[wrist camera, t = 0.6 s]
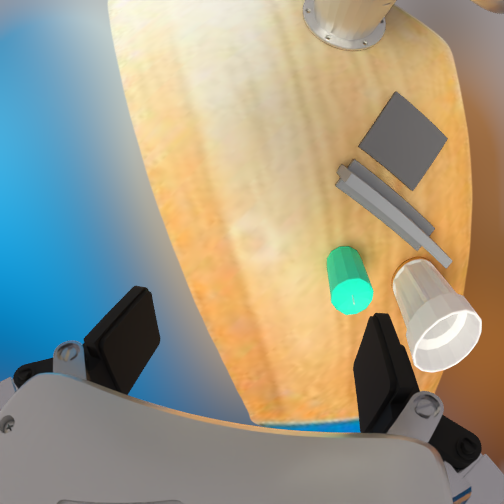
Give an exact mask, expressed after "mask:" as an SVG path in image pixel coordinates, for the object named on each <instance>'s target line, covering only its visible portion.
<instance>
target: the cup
mask: <svg viewBox="0 0 504 504" xmlns="http://www.w3.org/2000/svg"><path fill="white" fill-rule="evenodd" d="M392 289H393V292H394V295H395V297H396V300H397V303H398V305H399V308H400V311H401V313H402V316H403V319H404V322H405V325H406V328H407V333H406V337H407V341H408V345H409V348H410V352H411V355H412V359H413V362H414V365H415V366H416V367H417V368H419V369H420V370H421V371H426V372H437V371H441V370H445V369H447V368H449V367H451V366H453V365H455V364H457V363H458V362H460V361H461V360H462V359H463V358H464V357H466V356H467V355H468V354H469V353H470V351H471V350H472V349H473V348H474V346H475V345H476V343H477V341H478V339H479V336H480V334H481V327H482V326H481V325H482V321H481V319H480V317H479V316H478V314H477V313H476V312H475V310H474V309H473V308H472V306H471V305H470V304H469V303H468V302H467V300H466V299H465V297H464V296H462V295H459V294H457V293H456V292H455V291H454V290H453V288H452V287H451V286H450V285H449V283H448V282H447V281H446V280H445V278H444V277H443V276H442V275H441V274H440V273H439V271H438V270H437V269H436V268H435V267H434V265H433V264H432V263H431V262H430V261H429V260H427V259H425V258H422V257H416V258H411V259H409V260H407V261H405V262H403V263H402V264H401V265H400V266H399V267H398V269H397V270H396V272H395V273H394V276H393V278H392Z"/></svg>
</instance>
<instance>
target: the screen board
mask: <svg viewBox="0 0 504 504" xmlns="http://www.w3.org/2000/svg"><path fill="white" fill-rule="evenodd" d="M337 174H338V175H339V176H340V179H339V180H338V182H337V183H336V184H335V186H336V187H337V188H339V189H340V190H342V191H343V192H344V193H346V194H347V195H348V196H350V197H351V198H352V199H354V200H355V201H356V202H358V203H359V204H360V205H362V206H363V207H364V208H366V209H367V210H368V211H370V212H371V213H372V214H373V215H375V216H376V217H377V218H378V219H380V220H381V221H382V222H383V223H385V224H386V225H387V226H388V227H390V228H391V229H392V230H393V231H394V232H396V233H397V234H398V235H399V236H400V237H402V238H403V239H404V240H405V241H406V242H407V243H409V244H410V245H411V246H412V247H413V248H414V249H415V250H417V251H418V250H419V248H420V247H421V246H423V247H424V248H425V249H426V250H427V251H428V252H429V253H430V254H431V255H432V256H433V257H435V258H436V259H437V260H438V261H439V262H440V263H441V264H442V265H443V266H444V267H445V268H446V269H447V267H448V266H449V265H450V264H451V263H452V260H451V259H450V258H449V257H448V256H447V255H446V253H445V252H444V251H443V250H442V249H441V248H440V247H439V246H438V245H437V244H436V243H435V242H434V241H433V240H432V239H431V238H430V237H429V236H430V235H431V233H432V232H433V231H434V229H435V228H434V227H433V226H432V225H431V224H430V223H429V222H428V221H427V220H426V219H425V218H424V217H423V216H422V215H421V214H419V213H418V212H417V211H416V210H415V209H414V208H413V207H412V206H411V205H410V204H408V203H407V202H406V201H405V200H404V199H403V198H402V197H401V196H399V195H398V194H397V193H396V192H395V191H394V190H392V189H391V188H390V187H389V186H388V185H386V184H385V183H384V182H383V181H382V180H380V179H379V178H378V177H377V176H375V175H374V174H373V173H372V172H370V171H369V170H368V169H366V168H365V167H364V166H363V165H361V164H360V163H359V162H357V161H356V160H355V159H353V160H352V162H351V163H350V165H349V166H348V167H347V168H346V167H345V166H344V165H341V166H340V167H339V169H338V170H337Z"/></svg>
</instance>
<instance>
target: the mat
mask: <svg viewBox="0 0 504 504" xmlns="http://www.w3.org/2000/svg"><path fill="white" fill-rule="evenodd" d="M447 139H448V138H447V137H446V136H445V135H444V134H443V133H442V132H441V131H440V130H439V129H438V128H437V127H436V126H435V125H434V124H433V123H432V122H431V121H430V120H428V119H427V118H426V117H425V116H424V115H423V114H422V113H421V112H420V111H419V110H418V109H416V108H415V107H414V106H413V105H412V104H411V103H410V102H408V101H407V100H406V99H405V98H404V97H402V96H401V95H400V94H399V93H398V92H395V93H394V94H393V96H392V97H391V99H390V100H389V102H388V103H387V105H386V106H385V108H384V109H383V111H382V112H381V114H380V115H379V117H378V118H377V119H376V121H375V122H374V124H373V125H372V127H371V128H370V130H369V131H368V133H367V134H366V136H365V137H364V139H363V140H362V141H361V143H360V144H359V146H358V147H359V148H361V149H362V150H363V151H365V152H366V153H367V154H369V155H370V156H371V157H372V158H374V159H375V160H376V161H378V162H379V163H380V164H381V165H382V166H384V167H385V168H386V169H387V170H389V171H390V172H391V173H392V174H393V175H394V176H396V177H397V178H398V179H399V180H400V181H401V182H403V183H404V184H405V185H406V186H407V187H408V188H409V189H410V190H412V191H413V190H414V189H415V187H416V186H417V184H418V183H419V182H420V180H421V179H422V177H423V176H424V174H425V173H426V171H427V170H428V169H429V167H430V166H431V164H432V163H433V161H434V160H435V158H436V156H437V155H438V153H439V152H440V150H441V149H442V147H443V146H444V144H445V142H446V141H447Z"/></svg>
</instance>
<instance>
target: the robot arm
mask: <svg viewBox="0 0 504 504" xmlns="http://www.w3.org/2000/svg"><path fill="white" fill-rule="evenodd" d="M396 1H397V0H305V2H304V5H303V17H304V20H305V23H306V25H307V26H308V28H309V30H310V31H311V32H312V33H313V34H314V35H315V36H316V37H317V38H319V39H320V40H321V41H323V42H325V43H326V44H328V45H330V46H333V47H335V48H339V49H342V50H350V51H358V50H364V49H367V48H370V47H372V46H373V45H375V44H376V43H377V42H378V41H379V40H380V39H381V38H382V36H383V35H384V32H385V28H386V21H385V17H384V16H385V15H386V14H387V12H388V11H389V10H390V8H391V7H392V6H393V4H394V3H395V2H396ZM471 1H472V2H474V3H475V4H477V5H478V6H480V7H482V8H484V9H485V10H487V11H490V12H493V13H497V14H504V0H471ZM307 12H310V13H307ZM380 22H381V23H380ZM326 38H329V40H327V39H326ZM363 43H365V44H366V45H364V44H363ZM159 343H160V335H159V330H158V325H157V320H156V316H155V310H154V305H153V300H152V294H151V292H149V291H148V289H147V288H146V287H140V286H134V287H133V288H132V289H131V290H130V291H129V292H128V293H127V294H126V295H125V296H124V297H123V298H122V299H121V300H120V301H119V302H118V303H117V304H116V305H115V306H114V307H113V308H112V309H111V310H110V311H109V312H108V313H107V314H106V315H105V316H104V318H103V319H102V320H101V321H100V322H99V323H98V324H97V325H96V326H95V327H94V328H93V329H92V330H91V331H90V332H89V334H88V335H87V336H86V337H85V338H84V344H83V345H82V344H81V343H79V342H77V341H67V342H64V343H62V344H60V345H59V346H58V347H57V348H56V349H55V351H54V355H53V356H54V357H53V358H50V359H46V360H42V361H38V362H33V363H29V364H25V365H23V366H21V367H20V368H18V369H17V370H16V372H15V374H14V377H13V379H11V377H9V378H8V379H6V380H3V381H1V382H0V504H501V503H502V502H503V500H504V474H503V473H502V472H501V471H500V470H499V469H498V468H497V466H496V465H495V464H494V463H493V462H492V461H491V459H490V458H489V457H488V456H487V455H486V454H485V455H484V456H482V454H481V443H480V440H479V439H478V437H477V436H476V435H474V434H473V433H471V432H470V431H468V430H466V429H465V428H463V427H461V426H460V425H458V424H457V423H455V422H453V421H452V420H450V419H448V418H446V417H445V416H444V415H442V414H443V411H444V408H443V403H442V401H441V400H440V398H439V397H438V396H436V395H435V394H434V393H431V392H427V391H421V392H420V391H419V387H418V384H417V381H416V378H415V375H414V372H413V369H412V366H411V363H410V361H409V358H408V355H407V352H406V350H405V347H404V346H403V345H400V342H399V339H398V337H397V334H396V331H395V329H394V326H393V324H392V321H391V318H390V316H389V314H385V313H375V314H374V316H370V318H369V320H368V323H367V327H366V330H365V333H364V336H363V339H362V342H361V345H360V348H359V350H358V353H357V356H356V359H355V361H354V366H353V371H354V378H355V386H356V394H357V402H358V412H359V422H360V432H361V433H330V432H309V431H294V430H283V429H274V428H265V427H258V426H251V425H243V424H238V423H232V422H227V421H221V420H216V419H211V418H207V417H202V416H198V415H193V414H189V413H185V412H181V411H178V410H174V409H170V408H166V407H163V406H160V405H156V404H153V403H149V402H146V401H143V400H140V399H137V398H134V397H131V396H128V393H129V392H130V390H131V388H132V387H133V385H134V383H135V382H136V380H137V379H138V377H139V375H140V374H141V372H142V370H143V369H144V367H145V366H146V364H147V362H148V361H149V359H150V358H151V356H152V355H153V353H154V352H155V350H156V348H157V347H158V345H159Z"/></svg>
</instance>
